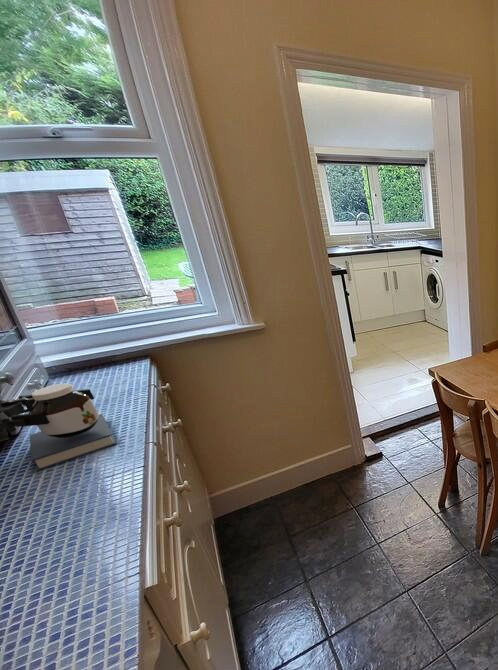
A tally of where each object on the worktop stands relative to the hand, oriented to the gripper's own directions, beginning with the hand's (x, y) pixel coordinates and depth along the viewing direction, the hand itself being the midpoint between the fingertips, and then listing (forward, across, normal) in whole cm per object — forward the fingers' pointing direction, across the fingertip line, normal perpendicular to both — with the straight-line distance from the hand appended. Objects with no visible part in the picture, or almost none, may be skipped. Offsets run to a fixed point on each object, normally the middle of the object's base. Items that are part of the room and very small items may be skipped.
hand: (69, 405), depth 101 cm
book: (-4, 0, -11) cm, 11 cm away
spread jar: (-2, 0, -7) cm, 7 cm away
